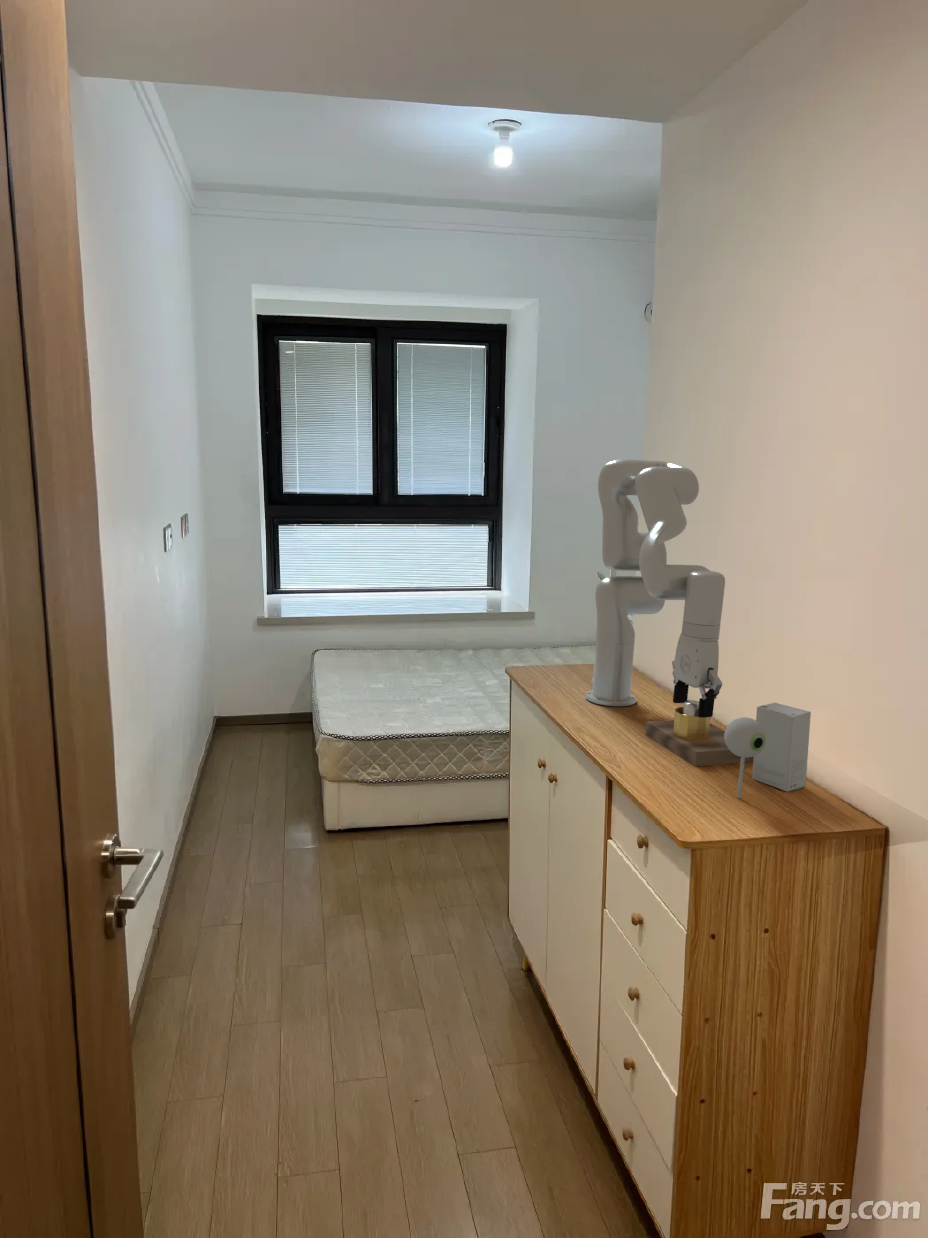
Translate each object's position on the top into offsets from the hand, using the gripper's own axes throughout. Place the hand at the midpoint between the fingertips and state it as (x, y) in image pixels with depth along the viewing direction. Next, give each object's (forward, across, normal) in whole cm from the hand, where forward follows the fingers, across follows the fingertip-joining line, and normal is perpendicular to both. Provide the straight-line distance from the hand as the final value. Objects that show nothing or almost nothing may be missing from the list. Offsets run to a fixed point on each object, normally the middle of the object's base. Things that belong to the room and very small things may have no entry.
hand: (692, 709), depth 177 cm
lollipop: (+8, +27, -6) cm, 29 cm away
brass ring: (+5, 0, 0) cm, 5 cm away
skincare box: (+8, +22, +6) cm, 24 cm away
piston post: (+5, +1, 0) cm, 5 cm away
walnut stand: (+8, +1, +2) cm, 9 cm away
